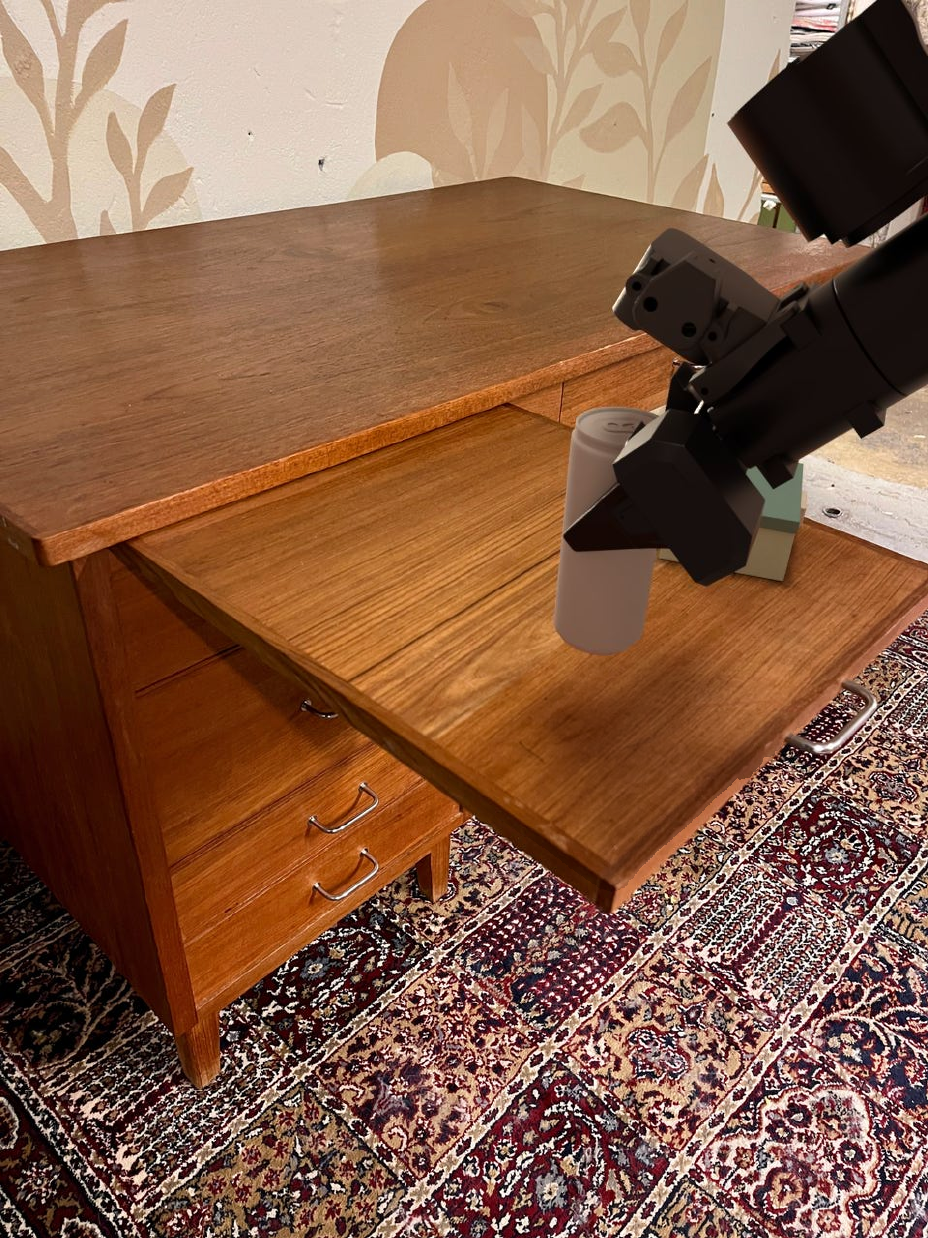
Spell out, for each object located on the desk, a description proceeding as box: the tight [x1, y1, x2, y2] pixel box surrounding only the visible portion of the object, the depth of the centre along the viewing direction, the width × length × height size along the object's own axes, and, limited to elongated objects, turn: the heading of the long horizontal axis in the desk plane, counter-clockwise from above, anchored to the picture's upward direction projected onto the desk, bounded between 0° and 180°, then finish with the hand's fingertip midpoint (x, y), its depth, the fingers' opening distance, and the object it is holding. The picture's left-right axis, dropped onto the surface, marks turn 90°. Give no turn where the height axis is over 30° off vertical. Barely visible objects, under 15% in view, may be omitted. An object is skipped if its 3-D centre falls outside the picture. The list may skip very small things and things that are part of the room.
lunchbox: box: [658, 462, 808, 582], centre depth 74 cm, size 10×10×5 cm
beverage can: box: [552, 406, 660, 656], centre depth 49 cm, size 5×5×12 cm
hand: (584, 520), depth 49 cm, fingers closed on beverage can, 5 cm apart
